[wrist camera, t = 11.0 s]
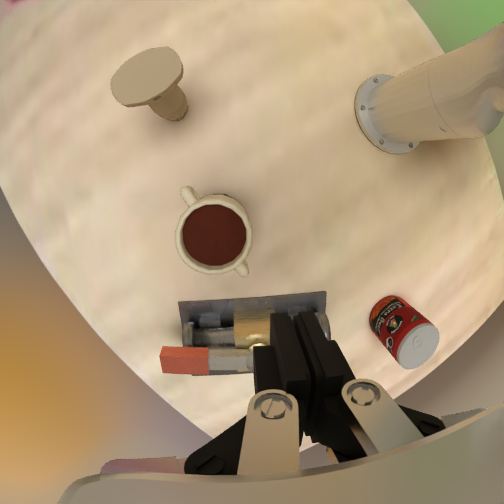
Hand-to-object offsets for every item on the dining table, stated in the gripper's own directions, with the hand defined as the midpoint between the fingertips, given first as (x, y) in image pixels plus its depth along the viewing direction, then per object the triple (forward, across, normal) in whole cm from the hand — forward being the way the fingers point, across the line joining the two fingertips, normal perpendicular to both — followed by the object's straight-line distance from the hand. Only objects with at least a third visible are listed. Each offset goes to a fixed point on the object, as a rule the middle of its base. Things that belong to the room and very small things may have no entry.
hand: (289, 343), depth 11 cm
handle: (+28, +10, -15) cm, 34 cm away
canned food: (+29, -23, +17) cm, 40 cm away
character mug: (+28, +4, 0) cm, 29 cm away
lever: (+21, +5, +16) cm, 27 cm away
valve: (+28, 0, +18) cm, 34 cm away
